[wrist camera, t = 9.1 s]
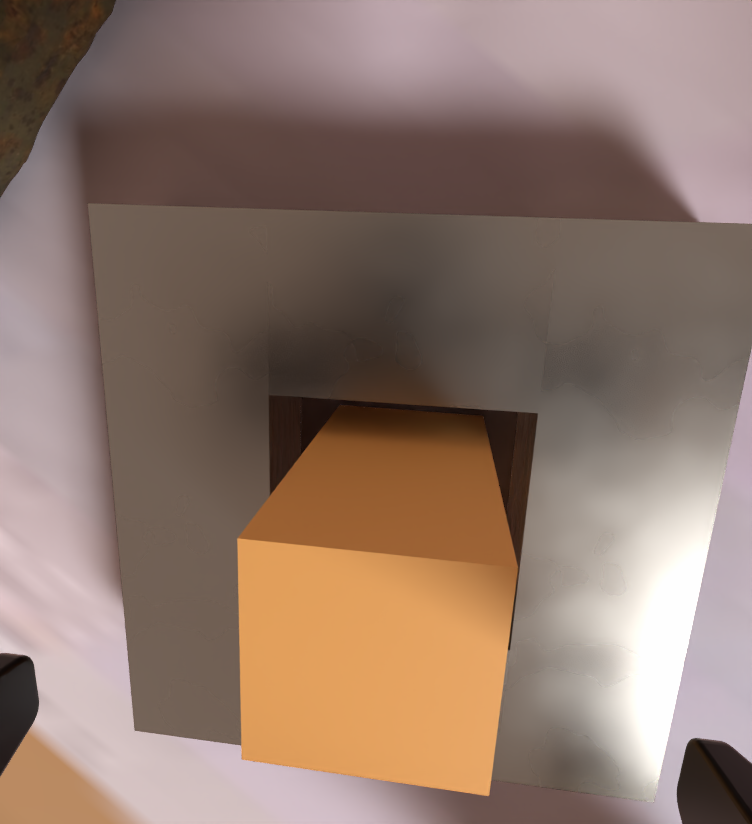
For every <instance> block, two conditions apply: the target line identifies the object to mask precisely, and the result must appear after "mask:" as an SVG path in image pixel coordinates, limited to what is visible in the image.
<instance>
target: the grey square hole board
mask: <svg viewBox="0 0 752 824" xmlns="http://www.w3.org/2000/svg"><path fill="white" fill-rule="evenodd" d="M88 213H89V224H90V235H91V247H92V258H93V269H94V280H95V292H96V303H97V314H98V325H99V336H100V348H101V359H102V370H103V381H104V392H105V404H106V415H107V426H108V437H109V449H110V460H111V471H112V482H113V493H114V505H115V516H116V527H117V538H118V549H119V561H120V572H121V583H122V594H123V605H124V617H125V628H126V639H127V650H128V662H129V673H130V684H131V695H132V706H133V718H134V729H135V731H141V732H149V733H156V734H163V735H170V736H177V737H185V738H192V739H199V740H206V741H213V742H221V743H228V744H235V745H241V697H240V646H239V595H238V545H237V538H238V537H239V536H240V534H241V533H242V532H243V530H244V529H245V528H246V526H247V525H248V524H249V523H250V521H251V520H252V519H253V517H254V516H255V515H256V513H257V512H258V511H259V509H260V508H261V507H262V506H263V504H264V503H265V502H266V500H267V499H268V498H269V496H270V495H271V494H272V492H273V491H274V490H275V489H276V487H277V486H278V485H279V483H280V482H281V481H282V479H283V478H284V477H285V476H286V474H287V473H288V472H289V470H290V469H291V468H292V466H293V465H294V464H295V462H296V461H297V460H298V459H299V457H300V456H301V397H307V398H322V399H337V400H351V401H366V402H381V403H395V404H410V405H425V406H439V407H454V408H469V409H483V410H498V411H513V412H518V415H517V424H516V434H515V443H514V452H513V461H512V470H511V480H510V489H509V498H508V507H507V516H506V517H507V522H508V526H509V530H510V535H511V539H512V544H513V548H514V552H515V557H516V561H517V565H518V573H517V580H516V588H515V596H514V604H513V612H512V620H511V628H510V636H509V643H508V651H507V659H506V667H505V675H504V683H503V691H502V699H501V706H500V714H499V722H498V730H497V738H496V746H495V754H494V762H493V769H492V777H491V780H494V781H502V782H509V783H516V784H523V785H531V786H538V787H545V788H552V789H559V790H567V791H574V792H581V793H588V794H595V795H603V796H610V797H617V798H624V799H631V800H639V801H646V802H653V803H654V800H655V795H656V791H657V786H658V781H659V777H660V772H661V767H662V763H663V758H664V753H665V749H666V744H667V739H668V735H669V730H670V725H671V721H672V716H673V711H674V707H675V702H676V697H677V693H678V688H679V683H680V679H681V674H682V669H683V665H684V660H685V655H686V651H687V646H688V641H689V637H690V632H691V627H692V623H693V618H694V613H695V609H696V604H697V599H698V595H699V590H700V585H701V581H702V576H703V571H704V567H705V562H706V557H707V553H708V548H709V543H710V539H711V534H712V530H713V525H714V520H715V516H716V511H717V506H718V502H719V497H720V492H721V488H722V483H723V478H724V474H725V469H726V464H727V460H728V455H729V450H730V446H731V441H732V436H733V432H734V427H735V422H736V418H737V413H738V408H739V404H740V399H741V394H742V390H743V385H744V380H745V376H746V371H747V366H748V362H749V357H750V352H751V348H752V224H738V223H706V222H674V221H641V220H609V219H577V218H545V217H513V216H481V215H448V214H416V213H384V212H352V211H320V210H288V209H255V208H223V207H191V206H159V205H127V204H95V203H88Z"/></svg>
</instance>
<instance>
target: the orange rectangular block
mask: <svg viewBox="0 0 752 824" xmlns="http://www.w3.org/2000/svg"><path fill="white" fill-rule="evenodd" d="M237 545H238V595H239V646H240V697H241V748H242V760H249V761H256V762H263V763H269V764H276V765H283V766H289V767H296V768H303V769H310V770H316V771H323V772H330V773H337V774H343V775H350V776H357V777H364V778H370V779H377V780H384V781H391V782H397V783H404V784H411V785H417V786H424V787H431V788H438V789H444V790H451V791H458V792H465V793H471V794H478V795H485V796H489V793H490V785H491V777H492V769H493V762H494V754H495V746H496V738H497V730H498V722H499V714H500V706H501V699H502V691H503V683H504V675H505V667H506V659H507V651H508V643H509V636H510V628H511V620H512V612H513V604H514V596H515V588H516V580H517V573H518V565H517V561H516V557H515V552H514V548H513V544H512V539H511V535H510V530H509V526H508V522H507V517H506V513H505V509H504V504H503V500H502V496H501V491H500V487H499V483H498V478H497V474H496V470H495V465H494V461H493V457H492V452H491V448H490V444H489V439H488V435H487V430H486V426H485V422H484V417H483V416H478V415H465V414H452V413H439V412H426V411H413V410H400V409H387V408H374V407H361V406H348V405H339V406H338V408H337V409H336V410H335V412H334V413H333V414H332V415H331V417H330V418H329V419H328V421H327V422H326V423H325V425H324V426H323V427H322V428H321V430H320V431H319V432H318V434H317V435H316V436H315V438H314V439H313V440H312V442H311V443H310V444H309V445H308V447H307V448H306V449H305V451H304V452H303V453H302V455H301V456H300V457H299V459H298V460H297V461H296V462H295V464H294V465H293V466H292V468H291V469H290V470H289V472H288V473H287V474H286V476H285V477H284V478H283V479H282V481H281V482H280V483H279V485H278V486H277V487H276V489H275V490H274V491H273V492H272V494H271V495H270V496H269V498H268V499H267V500H266V502H265V503H264V504H263V506H262V507H261V508H260V509H259V511H258V512H257V513H256V515H255V516H254V517H253V519H252V520H251V521H250V523H249V524H248V525H247V526H246V528H245V529H244V530H243V532H242V533H241V534H240V536H239V537H238V538H237Z"/></svg>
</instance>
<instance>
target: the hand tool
mask: <svg viewBox="0 0 752 824" xmlns="http://www.w3.org/2000/svg"><path fill="white" fill-rule="evenodd" d="M115 1H116V0H0V197H1V196H2V194H3V192H4V191H5V189H6V188H7V186H8V184H9V183H10V181H11V180H12V179H13V178H14V177H15V175H16V174H17V173H18V172H19V170H20V169H21V167H22V165H23V164H24V163H25V162H26V161H27V159H28V157H29V154H30V152H31V150H32V147H33V145H34V142H35V139H36V136H37V134H38V132H39V129H40V127H41V125H42V122H43V121H44V119H45V117H46V116H47V114H48V112H49V111H50V109H51V107H52V106H53V104H54V102H55V101H56V99H57V97H58V95H59V94H60V92H61V90H62V88H63V87H64V85H65V83H66V82H67V80H68V78H69V77H70V75H71V73H72V72H73V70H74V68H75V67H76V65H77V64H78V63H79V61H80V60H81V59H82V58H83V57H84V55H85V54H86V53H87V51H88V49H89V47H90V45H91V44H92V42H93V39H94V37H95V34H96V32H97V31H98V30H99V29H100V27H101V26H102V25H103V23H104V22H105V21H106V20H107V18H108V17H109V16H110V15H111V13H112V11H113V7H114V4H115Z"/></svg>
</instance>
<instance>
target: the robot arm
mask: <svg viewBox="0 0 752 824" xmlns="http://www.w3.org/2000/svg"><path fill="white" fill-rule="evenodd" d="M38 707H39V698H38V691H37V684H36V677H35V670H34V664H33V661H32V660H31V658H30V657H28V656H25V655H18V654H10V653H1V654H0V776H1V775H2V773H3V771H4V770H5V768H6V767H7V765H8V763H9V762H10V760H11V758H12V756H13V755H14V753H15V752H16V750H17V748H18V747H19V745H20V744H21V742H22V740H23V739H24V737H25V735H26V734H27V732H28V731H29V729H30V727H31V726H32V724H33V722H34V720H35V718H36V715H37V712H38ZM677 802H678V808H679V813H680V816H681V820H682V823H683V824H752V763H750V762H749V761H748V760H747V759H746V758H745V757H743V756H742V755H741V754H740V753H739V752H738V751H736V750H735V749H734V748H733V747H731V746H730V745H729V744H727V743H725V742H722V741H716V740H708V739H700V738H694V739H691V740H690V741H689V742H688V744H687V747H686V750H685V755H684V759H683V764H682V768H681V773H680V777H679V781H678V786H677Z"/></svg>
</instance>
